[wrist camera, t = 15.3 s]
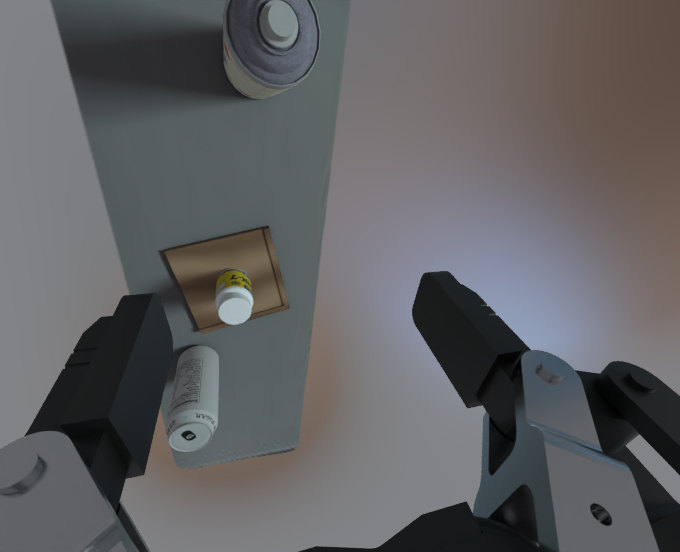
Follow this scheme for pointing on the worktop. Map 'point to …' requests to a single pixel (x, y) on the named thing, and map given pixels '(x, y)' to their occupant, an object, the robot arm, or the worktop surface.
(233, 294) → the supplement bottle
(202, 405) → the energy drink can
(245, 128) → the worktop surface
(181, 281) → the walnut board
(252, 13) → the aerosol can
